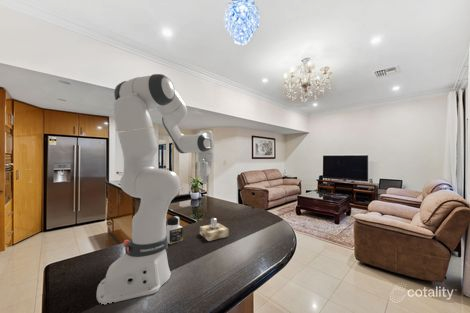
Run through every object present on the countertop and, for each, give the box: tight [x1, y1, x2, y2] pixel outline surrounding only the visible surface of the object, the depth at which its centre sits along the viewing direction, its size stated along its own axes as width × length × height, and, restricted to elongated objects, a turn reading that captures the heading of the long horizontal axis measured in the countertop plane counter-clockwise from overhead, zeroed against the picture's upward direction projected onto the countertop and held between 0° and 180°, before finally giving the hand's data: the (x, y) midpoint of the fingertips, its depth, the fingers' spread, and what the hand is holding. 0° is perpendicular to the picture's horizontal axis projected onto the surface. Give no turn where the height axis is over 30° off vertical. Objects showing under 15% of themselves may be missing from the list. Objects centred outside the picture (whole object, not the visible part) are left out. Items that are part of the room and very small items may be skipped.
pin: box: [210, 217, 218, 230], centre depth 110 cm, size 3×3×9 cm
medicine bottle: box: [166, 216, 184, 245], centre depth 103 cm, size 7×7×12 cm
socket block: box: [199, 222, 230, 242], centre depth 110 cm, size 12×12×4 cm
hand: (205, 183), depth 113 cm, fingers open, 8 cm apart
